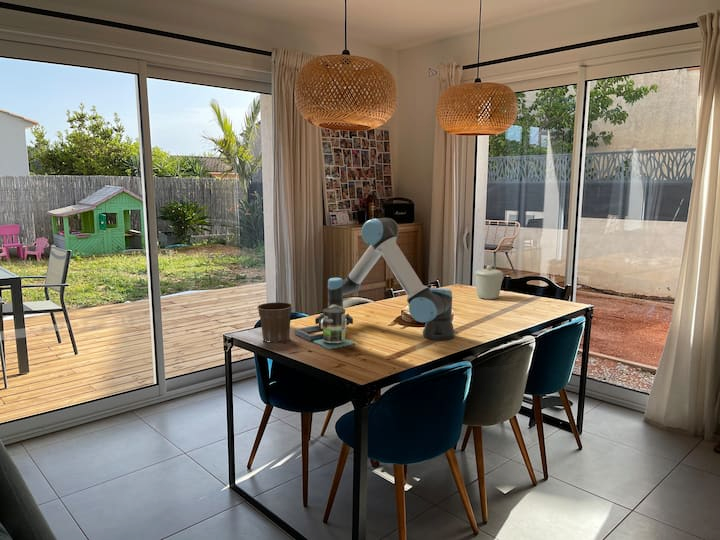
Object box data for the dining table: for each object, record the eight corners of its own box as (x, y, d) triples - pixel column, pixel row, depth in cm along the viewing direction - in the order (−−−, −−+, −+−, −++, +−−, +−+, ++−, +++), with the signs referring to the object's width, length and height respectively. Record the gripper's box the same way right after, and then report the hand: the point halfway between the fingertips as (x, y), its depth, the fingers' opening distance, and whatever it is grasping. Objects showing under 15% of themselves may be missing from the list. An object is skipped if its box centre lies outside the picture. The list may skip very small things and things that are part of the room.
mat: (338, 337, 256) (338, 336, 256) (355, 344, 245) (355, 342, 245) (313, 342, 248) (313, 340, 248) (329, 349, 237) (329, 348, 237)
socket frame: (321, 329, 270) (321, 324, 269) (338, 336, 257) (338, 331, 257) (294, 334, 261) (294, 329, 261) (310, 341, 249) (310, 336, 248)
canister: (473, 294, 355) (474, 263, 352) (501, 295, 352) (502, 263, 349) (474, 300, 338) (475, 267, 334) (503, 301, 335) (505, 267, 331)
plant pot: (253, 343, 246) (252, 309, 243) (264, 334, 262) (263, 301, 259) (288, 345, 244) (287, 310, 241) (297, 335, 259) (296, 302, 257)
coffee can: (333, 344, 239) (333, 313, 237) (318, 340, 246) (317, 309, 244) (350, 340, 246) (350, 309, 244) (334, 335, 253) (334, 306, 251)
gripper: (358, 321, 263) (358, 333, 241) (311, 321, 263) (308, 333, 241) (358, 306, 262) (358, 317, 240) (311, 306, 262) (308, 317, 240)
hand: (333, 325), depth 241 cm, fingers closed on coffee can, 10 cm apart
